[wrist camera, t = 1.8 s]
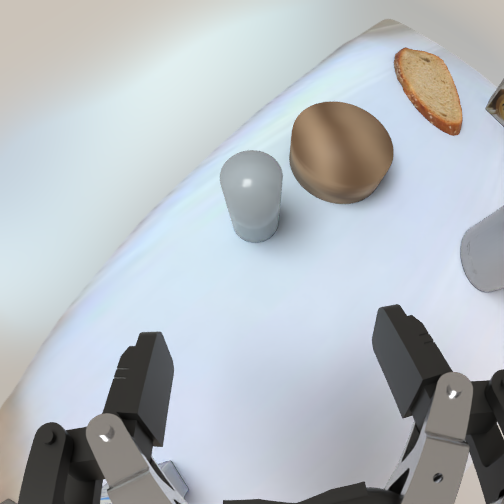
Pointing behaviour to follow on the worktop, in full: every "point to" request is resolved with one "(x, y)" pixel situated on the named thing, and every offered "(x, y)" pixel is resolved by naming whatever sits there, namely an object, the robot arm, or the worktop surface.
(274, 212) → the dome-topped grey cylinder
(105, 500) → the medicine box
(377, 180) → the walnut round
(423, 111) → the bread slice
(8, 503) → the coffeepot
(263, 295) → the worktop surface
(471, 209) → the worktop surface
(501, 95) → the coffee box
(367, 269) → the worktop surface
